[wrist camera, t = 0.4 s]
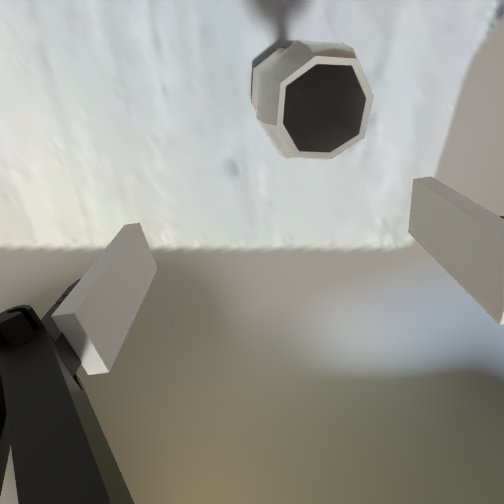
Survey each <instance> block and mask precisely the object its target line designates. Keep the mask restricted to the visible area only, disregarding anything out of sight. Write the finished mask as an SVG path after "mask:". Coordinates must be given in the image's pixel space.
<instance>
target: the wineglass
mask: <svg viewBox="0 0 504 504" xmlns="http://www.w3.org/2000/svg"><path fill="white" fill-rule="evenodd" d="M373 97H374V96H373V93H372V90H371V88H370V86H369V83H368V81H367V79H366V76H365V74H364V72H363V69H362V67H361V65H360V63H359V60H358V58H357V56H356V53H355V51H354V49H353V48H352V47H350V46H348V45H346V44H344V43H331V42H315V41H299V40H298V41H296V42H294V43H293V44H292V45H290V46H289V47H288V48H278V49H277V50H276V51H274V52H273V53H272V54H271V55H269V56H268V57H267V58H266V59H264V60H263V61H262V62H261V63H259V64H258V65H257V66H256V67H254V68H253V79H252V100H251V103H252V104H253V106H254V107H255V109H256V116H257V120H258V121H259V123H260V124H261V126H262V128H263V129H264V131H265V132H266V134H267V136H268V137H269V139H270V140H271V142H272V144H273V145H274V147H275V148H276V150H277V151H278V153H279V154H280V155H282V156H284V157H285V158H293V159H314V160H329V159H332V158H334V157H335V156H337V155H338V154H340V153H341V152H343V151H344V150H346V149H347V148H349V147H351V146H352V145H354V144H355V143H357V142H358V141H360V140H361V139H363V138H364V137H365V132H366V128H367V123H368V119H369V115H370V110H371V106H372V101H373Z"/></svg>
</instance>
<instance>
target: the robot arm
mask: <svg viewBox="0 0 504 504" xmlns="http://www.w3.org/2000/svg"><path fill="white" fill-rule="evenodd" d="M408 232H409V233H410V234H411V235H412V236H413V237H414V238H415V240H416V241H417V242H419V244H420V245H422V247H423V248H424V249H425V250H426V251H427V252H428V253H429V254H430V255H431V256H432V257H434V259H435V260H436V261H437V262H438V263H439V264H440V265H441V266H442V267H443V268H444V269H445V270H446V271H447V272H448V273H449V274H450V275H451V276H452V277H453V278H454V279H455V280H456V281H457V282H458V283H459V284H460V285H461V286H462V287H463V288H464V289H465V290H466V291H467V292H468V293H469V294H470V295H471V296H472V297H473V298H474V299H475V300H476V301H477V302H478V303H479V304H480V305H481V306H482V307H483V308H484V309H485V310H486V311H487V312H488V314H489V315H491V316H492V318H493V319H494V320H495V321H496V322H497V323H498V324H500V325H501V324H504V217H503V216H500V217H499V216H498V215H496V214H494V213H492V212H491V211H489V210H487V209H485V208H484V207H482V206H480V205H479V204H476V203H475V202H474V201H472V200H470V199H468V198H467V197H465V196H463V195H461V194H460V193H458V192H456V191H455V190H453V189H451V188H449V187H448V186H446V185H444V184H443V183H441V182H439V181H437V180H436V179H434V178H432V177H431V176H430V177H424V178H418V179H413V188H412V198H411V209H410V219H409V230H408ZM156 271H157V267H156V264H155V262H154V259H153V256H152V254H151V251H150V248H149V246H148V243H147V241H146V238H145V235H144V233H143V230H142V227H141V225H140V223H134V224H128V225H124V227H123V228H122V229H121V230H120V232H119V233H118V234H117V235H116V237H115V238H114V239H113V240H112V241H111V243H110V244H109V245H108V246H107V248H106V249H105V250H104V251H103V253H102V254H101V255H100V256H99V257H98V259H97V260H96V261H95V262H94V264H93V265H92V266H91V268H90V269H89V270H88V271H87V272H86V274H85V275H84V276H83V277H82V279H79V280H77V281H76V282H75V283H74V284H72V285H71V286H69V287H68V288H67V290H66V291H65V292H64V293H63V294H62V297H60V298H59V299H58V300H57V301H56V304H54V305H53V306H52V307H51V309H50V310H49V311H48V312H47V314H46V315H45V316H44V317H43V318H42V320H40V319H39V317H38V316H37V314H36V313H35V311H34V310H33V309H32V307H30V306H29V305H21V306H16V307H13V308H11V309H8V310H6V311H4V312H2V313H0V495H1V490H2V485H3V480H4V475H5V470H6V465H7V460H8V455H9V451H10V446H11V449H12V457H13V464H14V471H15V480H16V487H17V494H18V502H19V504H134V502H133V499H132V498H131V495H130V492H129V490H128V488H127V486H126V483H125V481H124V479H123V476H122V474H121V472H120V470H119V468H118V465H117V463H116V460H115V458H114V456H113V454H112V452H111V449H110V447H109V445H108V442H107V440H106V438H105V436H104V433H103V431H102V428H101V426H100V424H99V422H98V419H97V417H96V415H95V412H94V410H93V408H92V406H91V403H90V401H89V399H88V396H87V394H86V392H85V390H84V387H83V385H82V383H81V380H80V379H79V377H78V376H77V374H76V371H77V370H78V368H79V366H80V365H81V364H82V365H83V367H84V369H85V370H86V372H87V373H88V375H90V374H98V373H106V372H109V371H110V369H111V367H112V365H113V363H114V361H115V359H116V356H117V354H118V352H119V350H120V347H121V346H122V343H123V341H124V339H125V337H126V335H127V333H128V331H129V328H130V326H131V324H132V322H133V320H134V318H135V316H136V313H137V311H138V309H139V307H140V305H141V303H142V301H143V298H144V296H145V294H146V292H147V290H148V288H149V286H150V283H151V281H152V279H153V277H154V275H155V273H156Z"/></svg>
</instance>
